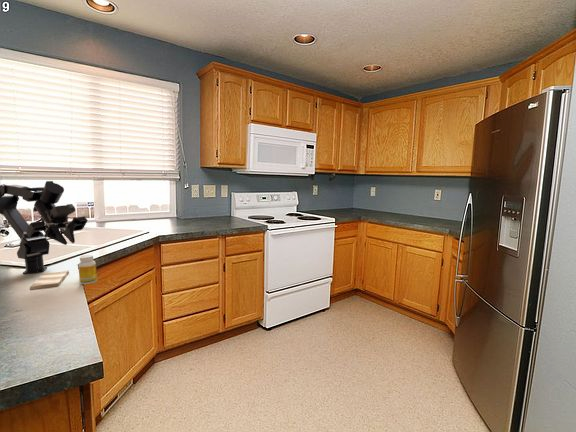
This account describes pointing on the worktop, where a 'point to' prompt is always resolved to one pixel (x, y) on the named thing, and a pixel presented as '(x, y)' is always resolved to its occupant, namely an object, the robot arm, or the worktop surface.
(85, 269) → the supplement bottle
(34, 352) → the worktop surface
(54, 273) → the beige rectangular board
